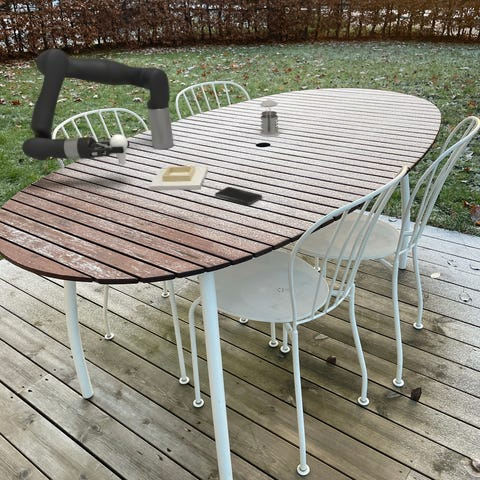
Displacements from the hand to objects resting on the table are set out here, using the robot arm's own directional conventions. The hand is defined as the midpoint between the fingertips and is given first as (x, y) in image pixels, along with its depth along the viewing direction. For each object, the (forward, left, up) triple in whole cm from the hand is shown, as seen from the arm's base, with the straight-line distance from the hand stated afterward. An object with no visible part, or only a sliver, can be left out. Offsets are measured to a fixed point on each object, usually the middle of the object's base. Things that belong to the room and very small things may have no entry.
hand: (126, 146), depth 166 cm
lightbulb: (0, -2, -7) cm, 7 cm away
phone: (+14, +40, -14) cm, 45 cm away
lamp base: (-2, +17, -14) cm, 22 cm away
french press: (-58, +48, -14) cm, 77 cm away
